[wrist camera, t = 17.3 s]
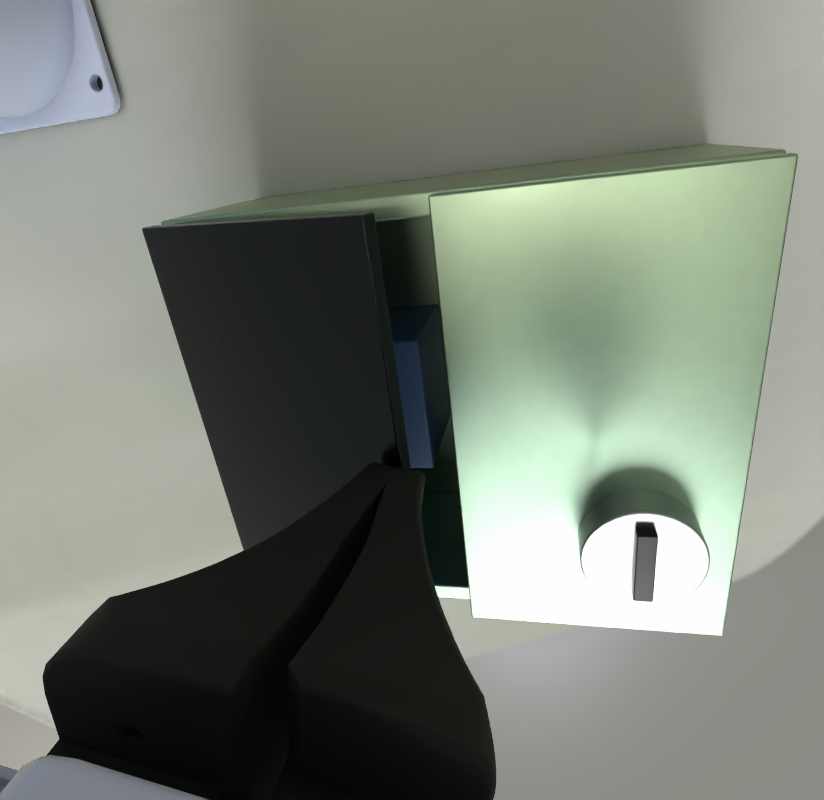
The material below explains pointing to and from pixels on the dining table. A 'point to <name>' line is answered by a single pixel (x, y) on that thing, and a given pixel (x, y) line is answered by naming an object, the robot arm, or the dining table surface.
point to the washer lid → (284, 356)
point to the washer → (582, 357)
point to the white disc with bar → (642, 548)
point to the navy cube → (421, 379)
